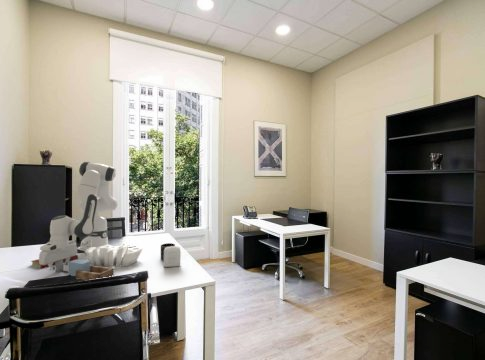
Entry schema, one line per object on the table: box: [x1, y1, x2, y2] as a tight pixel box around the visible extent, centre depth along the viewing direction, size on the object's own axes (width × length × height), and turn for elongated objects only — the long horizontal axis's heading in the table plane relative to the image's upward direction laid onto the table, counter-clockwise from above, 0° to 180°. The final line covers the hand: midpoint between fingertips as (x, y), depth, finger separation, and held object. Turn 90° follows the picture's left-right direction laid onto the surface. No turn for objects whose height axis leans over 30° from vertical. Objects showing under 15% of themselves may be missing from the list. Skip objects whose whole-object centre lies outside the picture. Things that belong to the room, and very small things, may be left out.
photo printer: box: [163, 245, 181, 268], centre depth 157 cm, size 10×4×12 cm, turn 103°
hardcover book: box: [30, 254, 79, 270], centre depth 160 cm, size 12×21×4 cm, turn 150°
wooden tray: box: [75, 265, 115, 281], centre depth 137 cm, size 16×9×4 cm, turn 74°
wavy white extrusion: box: [84, 243, 144, 268], centre depth 161 cm, size 35×16×11 cm, turn 93°
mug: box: [160, 242, 176, 261], centre depth 171 cm, size 9×12×9 cm
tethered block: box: [55, 258, 90, 277], centre depth 142 cm, size 22×5×8 cm, turn 74°
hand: (59, 267), depth 145 cm, fingers open, 7 cm apart
